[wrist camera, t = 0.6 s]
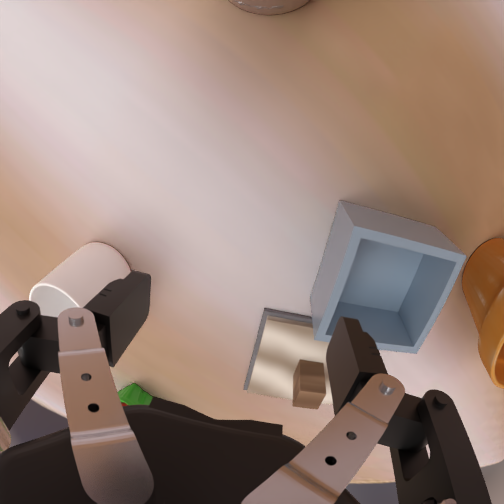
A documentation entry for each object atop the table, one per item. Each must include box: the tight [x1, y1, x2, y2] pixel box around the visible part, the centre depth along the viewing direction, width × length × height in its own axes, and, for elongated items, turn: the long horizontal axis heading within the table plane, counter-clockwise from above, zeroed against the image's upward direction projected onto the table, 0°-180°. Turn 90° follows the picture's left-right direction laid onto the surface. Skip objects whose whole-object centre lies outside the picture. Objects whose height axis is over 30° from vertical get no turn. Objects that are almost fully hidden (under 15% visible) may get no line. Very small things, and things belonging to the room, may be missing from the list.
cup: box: [29, 242, 131, 317], centre depth 31 cm, size 8×12×10 cm
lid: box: [247, 315, 333, 409], centre depth 34 cm, size 13×13×6 cm
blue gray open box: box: [310, 200, 466, 354], centre depth 27 cm, size 11×11×7 cm
